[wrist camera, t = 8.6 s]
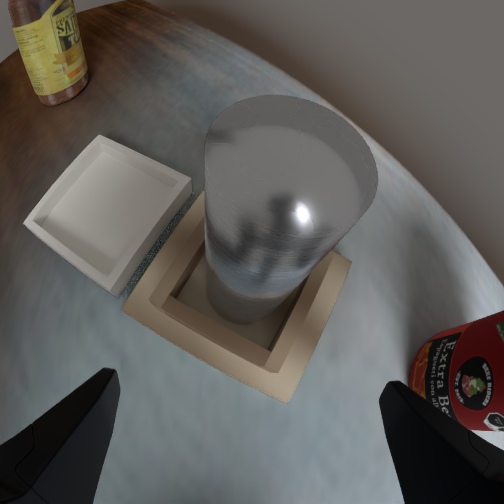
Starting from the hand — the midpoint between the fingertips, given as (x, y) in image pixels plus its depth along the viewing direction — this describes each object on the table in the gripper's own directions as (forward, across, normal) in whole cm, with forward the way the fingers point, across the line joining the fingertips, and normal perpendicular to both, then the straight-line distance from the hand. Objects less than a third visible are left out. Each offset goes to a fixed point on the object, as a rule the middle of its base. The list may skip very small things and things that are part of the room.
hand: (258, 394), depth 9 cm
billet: (+10, 0, +1) cm, 10 cm away
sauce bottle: (+24, +21, -12) cm, 34 cm away
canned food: (+6, -16, +7) cm, 18 cm away
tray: (+14, +10, -1) cm, 17 cm away
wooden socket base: (+10, 0, +2) cm, 11 cm away
